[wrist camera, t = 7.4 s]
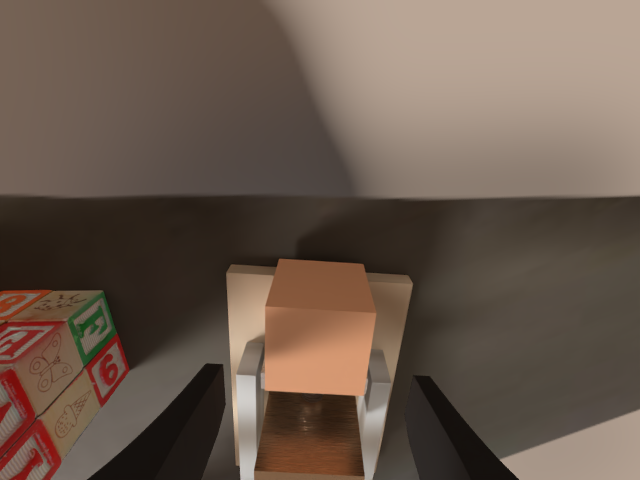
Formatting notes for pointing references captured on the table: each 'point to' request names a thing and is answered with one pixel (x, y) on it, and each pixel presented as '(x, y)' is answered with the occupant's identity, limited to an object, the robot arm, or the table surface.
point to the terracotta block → (318, 328)
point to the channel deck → (249, 351)
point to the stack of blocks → (52, 375)
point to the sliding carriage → (309, 437)
